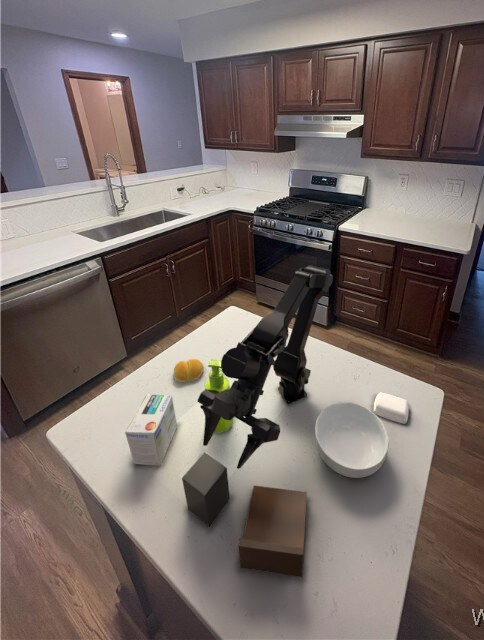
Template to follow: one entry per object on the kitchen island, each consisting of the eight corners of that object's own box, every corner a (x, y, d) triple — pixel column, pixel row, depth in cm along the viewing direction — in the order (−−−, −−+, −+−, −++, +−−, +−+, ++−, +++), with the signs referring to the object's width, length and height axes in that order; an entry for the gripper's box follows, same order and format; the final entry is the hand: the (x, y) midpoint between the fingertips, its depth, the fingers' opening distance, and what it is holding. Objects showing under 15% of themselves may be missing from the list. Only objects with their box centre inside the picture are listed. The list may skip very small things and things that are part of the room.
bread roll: (205, 378, 95) (204, 368, 94) (174, 386, 93) (173, 376, 91) (202, 361, 103) (200, 351, 101) (173, 367, 100) (172, 358, 98)
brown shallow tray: (254, 494, 66) (253, 472, 63) (306, 500, 65) (307, 479, 62) (240, 568, 55) (238, 545, 52) (302, 577, 54) (303, 555, 51)
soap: (372, 413, 85) (373, 405, 84) (376, 395, 90) (377, 387, 89) (407, 425, 81) (408, 417, 80) (408, 405, 87) (410, 398, 86)
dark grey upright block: (209, 482, 68) (204, 452, 64) (230, 498, 65) (226, 467, 61) (187, 509, 63) (181, 478, 59) (209, 528, 60) (204, 496, 56)
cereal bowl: (302, 433, 79) (303, 413, 76) (358, 413, 85) (360, 393, 82) (336, 503, 65) (338, 481, 62) (400, 472, 70) (405, 451, 68)
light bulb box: (152, 424, 81) (146, 393, 77) (178, 425, 81) (172, 394, 77) (132, 465, 71) (123, 432, 67) (161, 466, 71) (154, 433, 67)
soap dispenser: (231, 435, 78) (225, 373, 71) (205, 430, 80) (197, 369, 72) (239, 415, 84) (235, 356, 76) (215, 411, 85) (208, 352, 77)
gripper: (198, 360, 66) (163, 437, 62) (271, 397, 57) (236, 490, 53) (226, 366, 76) (197, 433, 71) (292, 399, 67) (264, 478, 62)
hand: (221, 456), depth 64 cm, fingers open, 9 cm apart
